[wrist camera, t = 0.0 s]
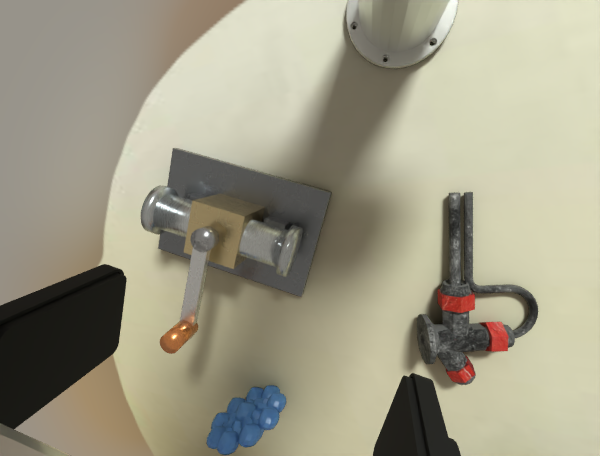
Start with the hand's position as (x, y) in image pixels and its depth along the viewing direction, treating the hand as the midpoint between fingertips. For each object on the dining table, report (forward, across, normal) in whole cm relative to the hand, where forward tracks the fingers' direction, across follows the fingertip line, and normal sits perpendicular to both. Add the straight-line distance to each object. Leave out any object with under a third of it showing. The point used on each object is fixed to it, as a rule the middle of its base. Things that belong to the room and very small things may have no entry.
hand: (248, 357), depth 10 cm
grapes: (+37, +4, +35) cm, 51 cm away
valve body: (+37, +14, +7) cm, 40 cm away
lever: (+26, +14, +13) cm, 33 cm away
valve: (+37, -20, +6) cm, 43 cm away
